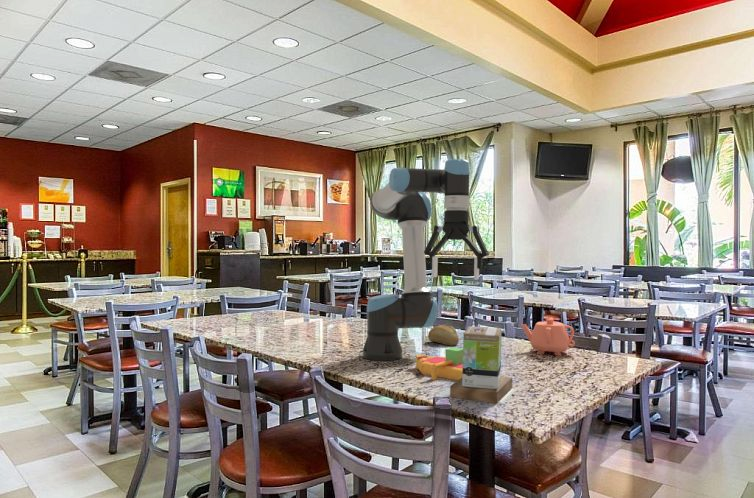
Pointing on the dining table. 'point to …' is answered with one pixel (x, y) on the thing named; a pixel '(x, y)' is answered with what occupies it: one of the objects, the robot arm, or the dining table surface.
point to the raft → (442, 365)
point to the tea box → (481, 357)
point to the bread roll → (444, 335)
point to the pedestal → (481, 391)
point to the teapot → (549, 337)
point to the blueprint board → (502, 401)
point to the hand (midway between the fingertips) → (455, 278)
